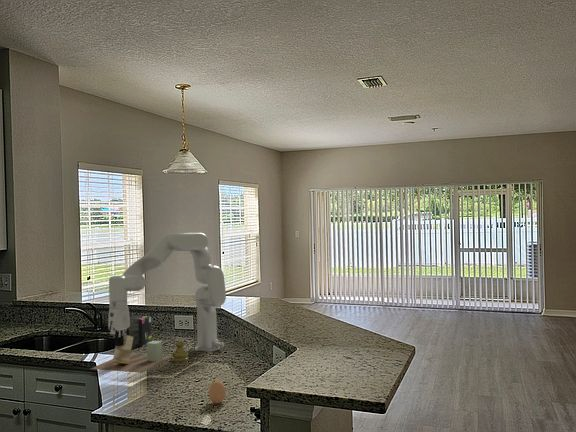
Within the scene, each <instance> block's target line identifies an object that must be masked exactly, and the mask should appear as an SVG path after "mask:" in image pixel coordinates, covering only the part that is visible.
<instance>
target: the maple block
mask: <svg viewBox="0 0 576 432" xmlns="http://www.w3.org/2000/svg"><path fill="white" fill-rule="evenodd" d="M132 343H133V337H132V336H128V335H127V334H124V336H123V345H122V346H114V347H115V348H114V353H113V358H112V359H113V363H119V364H129V359H130V354H131V353H132V349H133V347H132Z"/></svg>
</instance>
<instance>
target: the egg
mask: <svg viewBox="0 0 576 432" xmlns="http://www.w3.org/2000/svg"><path fill="white" fill-rule="evenodd" d="M226 392H227V391H226V387H225V385H224V384H223V382H222V381H220V380H214V381H213V382H212V383H211V384H210V385H209V388H208V398H209V400H210V401H211V403H214V404H220V403H222V402H223V401H224V400H225V398H226V394H227V393H226Z"/></svg>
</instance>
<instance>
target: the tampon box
mask: <svg viewBox="0 0 576 432" xmlns="http://www.w3.org/2000/svg"><path fill="white" fill-rule="evenodd" d="M125 332H126V335H128V336H132V337H133V343H132V348H145V347H147V343H148V342H151V341H153V339H152V316H151V315H134V316H130V327H129V328H127V330H126V331H125Z"/></svg>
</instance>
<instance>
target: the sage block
mask: <svg viewBox="0 0 576 432" xmlns="http://www.w3.org/2000/svg"><path fill="white" fill-rule="evenodd" d="M146 354H147V361H159V360H161V359H162V355H163V341H161V340H152V341H151V342H148V343H147V346H146Z"/></svg>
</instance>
